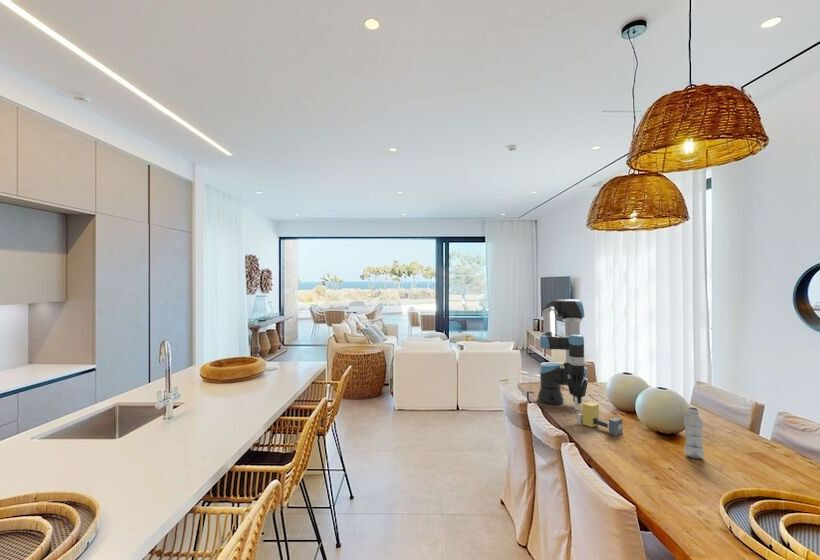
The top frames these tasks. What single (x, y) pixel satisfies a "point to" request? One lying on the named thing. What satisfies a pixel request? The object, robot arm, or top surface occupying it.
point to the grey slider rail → (606, 424)
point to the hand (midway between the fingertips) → (577, 409)
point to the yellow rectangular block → (590, 413)
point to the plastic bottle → (693, 434)
